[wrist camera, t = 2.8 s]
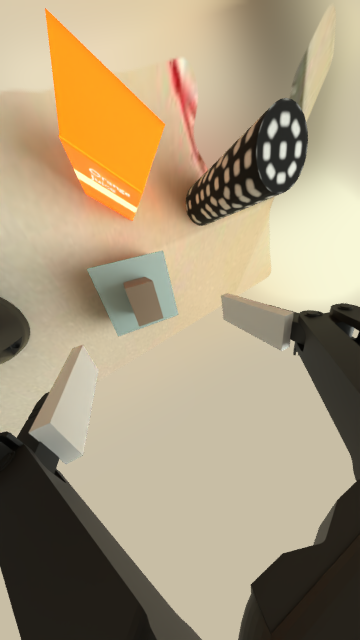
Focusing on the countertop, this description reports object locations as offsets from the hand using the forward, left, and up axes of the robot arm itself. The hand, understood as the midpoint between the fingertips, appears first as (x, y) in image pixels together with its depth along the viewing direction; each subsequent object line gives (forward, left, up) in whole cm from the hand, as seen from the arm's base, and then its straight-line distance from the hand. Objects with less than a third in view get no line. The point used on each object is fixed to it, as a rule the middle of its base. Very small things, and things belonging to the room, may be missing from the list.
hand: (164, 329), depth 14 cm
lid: (0, 0, -18) cm, 18 cm away
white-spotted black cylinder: (+21, +14, -26) cm, 36 cm away
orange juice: (+3, +19, -26) cm, 32 cm away
